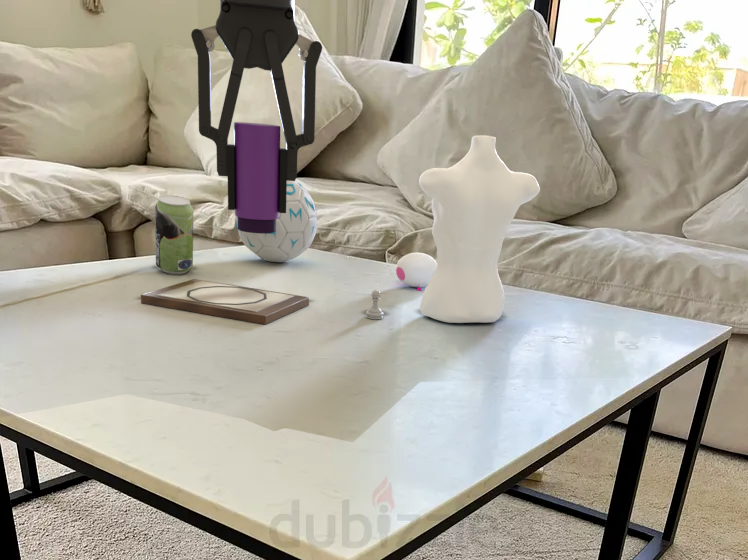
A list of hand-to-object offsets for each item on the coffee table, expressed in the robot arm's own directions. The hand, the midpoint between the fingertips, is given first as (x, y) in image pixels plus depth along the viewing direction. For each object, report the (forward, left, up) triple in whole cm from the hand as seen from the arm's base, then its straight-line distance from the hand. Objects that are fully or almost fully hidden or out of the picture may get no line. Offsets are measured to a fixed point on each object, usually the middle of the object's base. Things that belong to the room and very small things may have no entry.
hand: (256, 209), depth 89 cm
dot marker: (0, 0, -2) cm, 2 cm away
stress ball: (+5, +48, -16) cm, 51 cm away
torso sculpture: (+18, +31, -16) cm, 40 cm away
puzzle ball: (-24, +52, -16) cm, 60 cm away
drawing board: (-14, +17, -16) cm, 28 cm away
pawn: (+7, +23, -16) cm, 29 cm away
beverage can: (-32, +31, -16) cm, 48 cm away
